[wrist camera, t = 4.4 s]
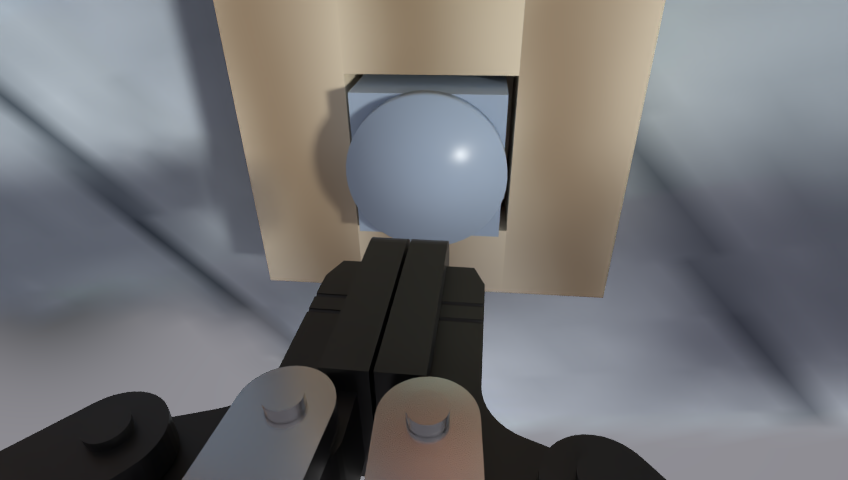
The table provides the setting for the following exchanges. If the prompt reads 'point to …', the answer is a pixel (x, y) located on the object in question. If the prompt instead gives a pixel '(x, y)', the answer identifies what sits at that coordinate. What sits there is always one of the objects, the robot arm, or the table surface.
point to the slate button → (428, 154)
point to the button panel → (446, 55)
